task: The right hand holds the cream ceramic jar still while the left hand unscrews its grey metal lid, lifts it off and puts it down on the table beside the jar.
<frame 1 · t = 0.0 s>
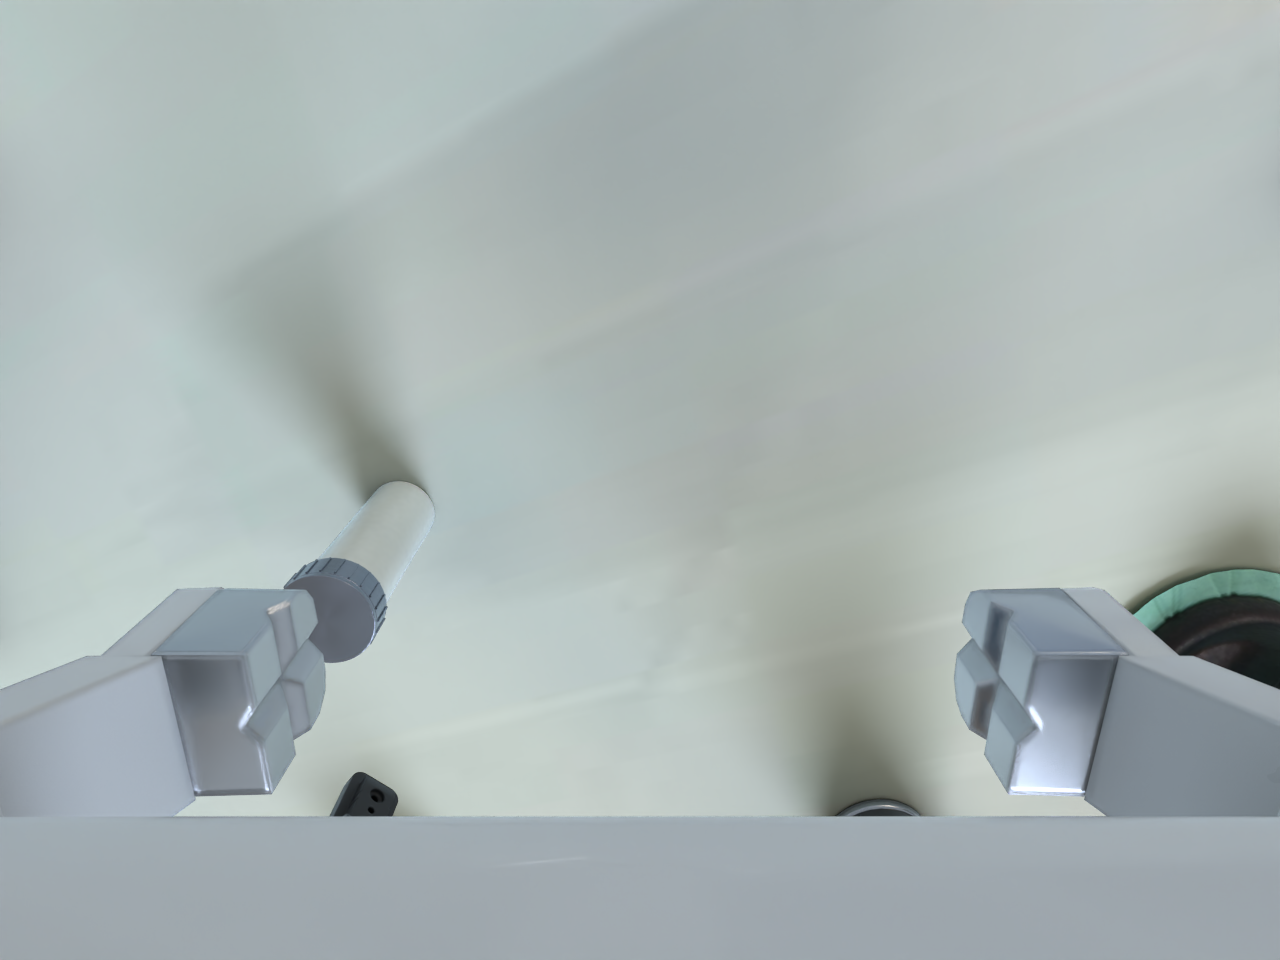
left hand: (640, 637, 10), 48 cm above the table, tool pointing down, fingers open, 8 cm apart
jar: (402, 511, 62), on the table
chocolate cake: (1208, 675, 67), on the table
lid: (326, 617, 47), point 16 cm above the table, screwed on, not yet turned
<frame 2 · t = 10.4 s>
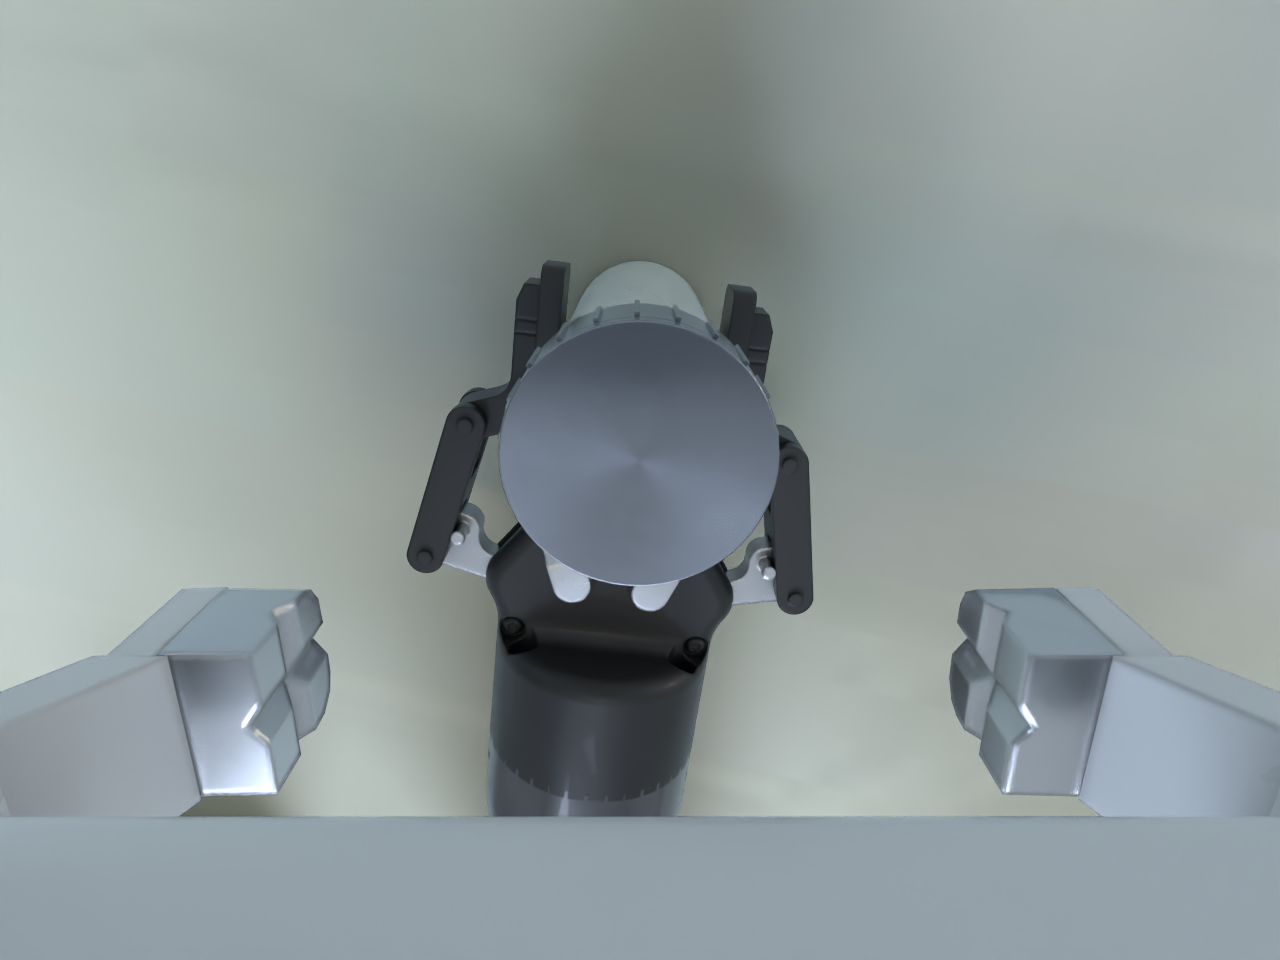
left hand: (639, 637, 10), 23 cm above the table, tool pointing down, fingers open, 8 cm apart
right hand: (648, 278, 25), fingers closed on jar, 5 cm apart
jar: (639, 326, 32), on the table, touching right hand
lid: (638, 456, 17), point 16 cm above the table, screwed on, not yet turned
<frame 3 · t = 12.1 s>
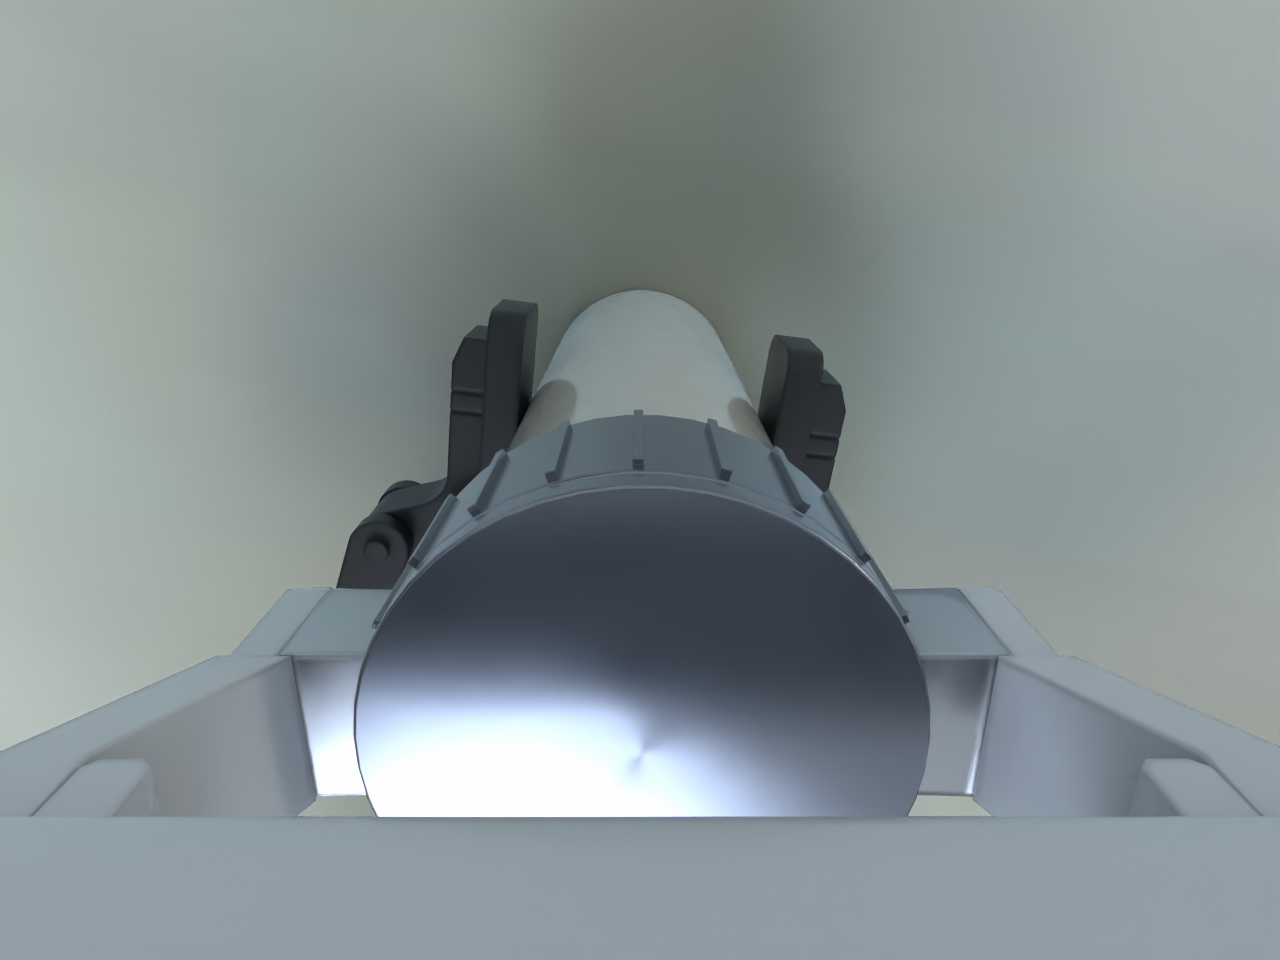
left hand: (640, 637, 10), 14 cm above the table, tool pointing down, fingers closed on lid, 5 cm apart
jar: (640, 378, 23), on the table, touching right hand
lid: (641, 731, 8), point 16 cm above the table, screwed on, not yet turned, touching left hand
when the left hand's fingers open (2 cm above the table, at t = 31.9 s): lid drops 2 cm, point 2 cm above the table.
when the right hand's fingers open (7 cm above the table, at t = 32.9 s): jar stays where it is, on the table.
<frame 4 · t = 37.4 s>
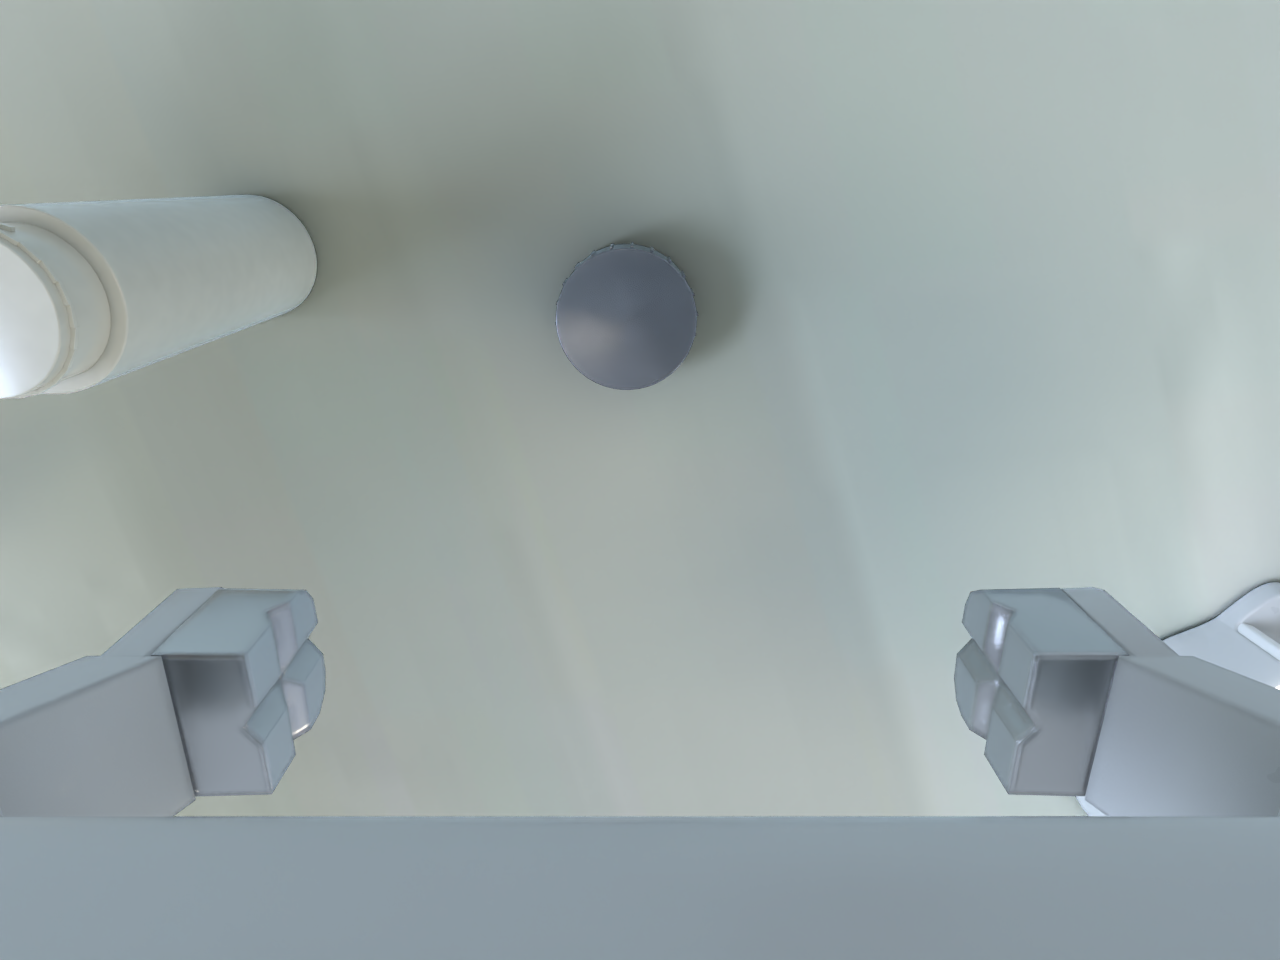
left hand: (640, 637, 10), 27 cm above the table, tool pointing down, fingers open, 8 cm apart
jar: (257, 256, 34), on the table
lid: (626, 319, 33), point 2 cm above the table, off its thread
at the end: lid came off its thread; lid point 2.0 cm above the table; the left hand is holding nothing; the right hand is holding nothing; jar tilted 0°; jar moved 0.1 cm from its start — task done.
